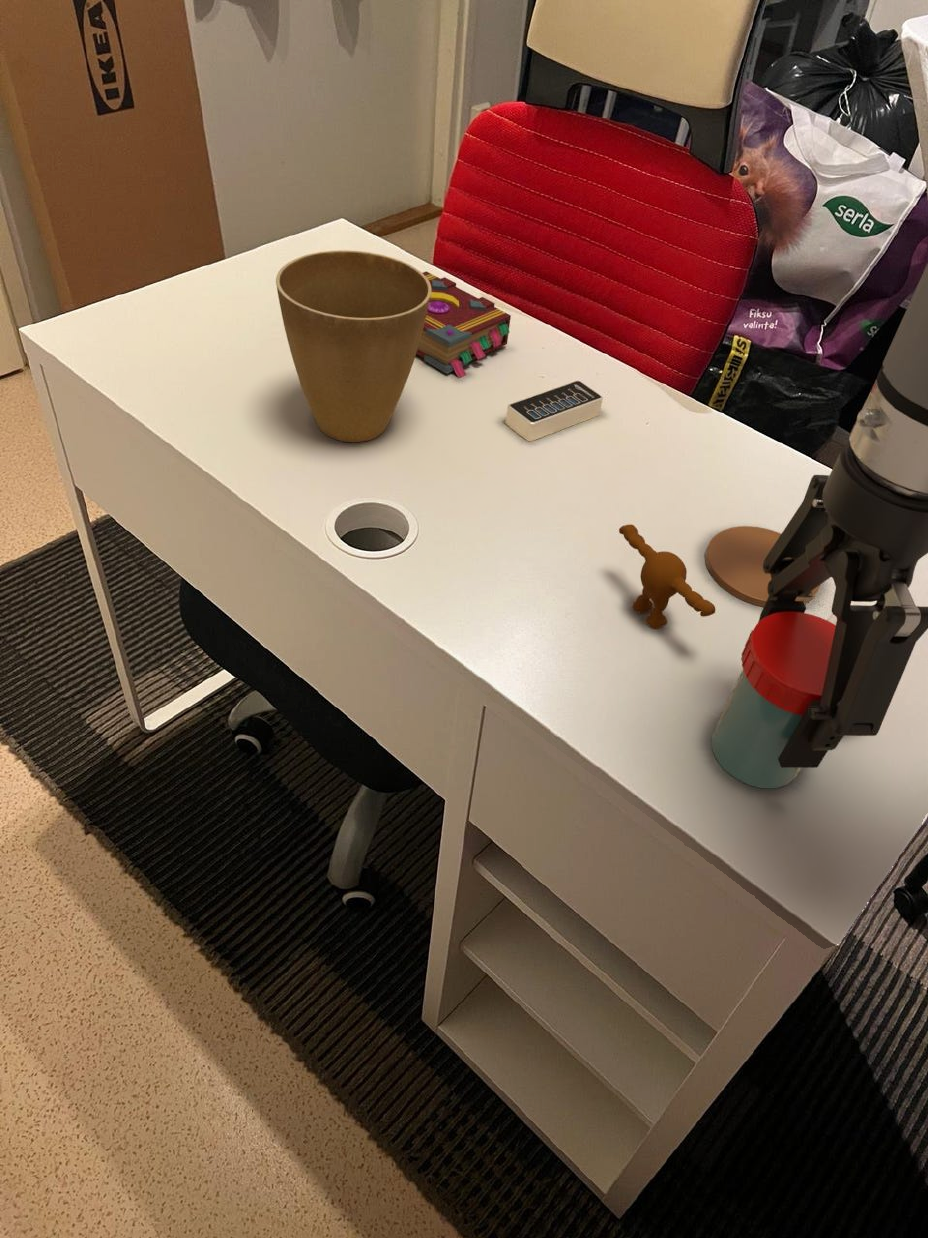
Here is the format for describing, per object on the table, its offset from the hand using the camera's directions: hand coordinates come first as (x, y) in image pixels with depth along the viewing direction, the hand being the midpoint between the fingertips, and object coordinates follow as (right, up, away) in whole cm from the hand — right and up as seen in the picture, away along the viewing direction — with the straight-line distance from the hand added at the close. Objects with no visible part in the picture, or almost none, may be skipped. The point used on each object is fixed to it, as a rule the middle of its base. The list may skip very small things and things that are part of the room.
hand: (777, 710), depth 68 cm
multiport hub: (-13, +29, +35) cm, 48 cm away
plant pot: (-35, +28, +31) cm, 55 cm away
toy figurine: (-7, +7, +14) cm, 17 cm away
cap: (+1, +4, -4) cm, 6 cm away
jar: (0, -4, +4) cm, 5 cm away
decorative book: (-27, +42, +45) cm, 67 cm away
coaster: (+5, +12, +19) cm, 23 cm away
